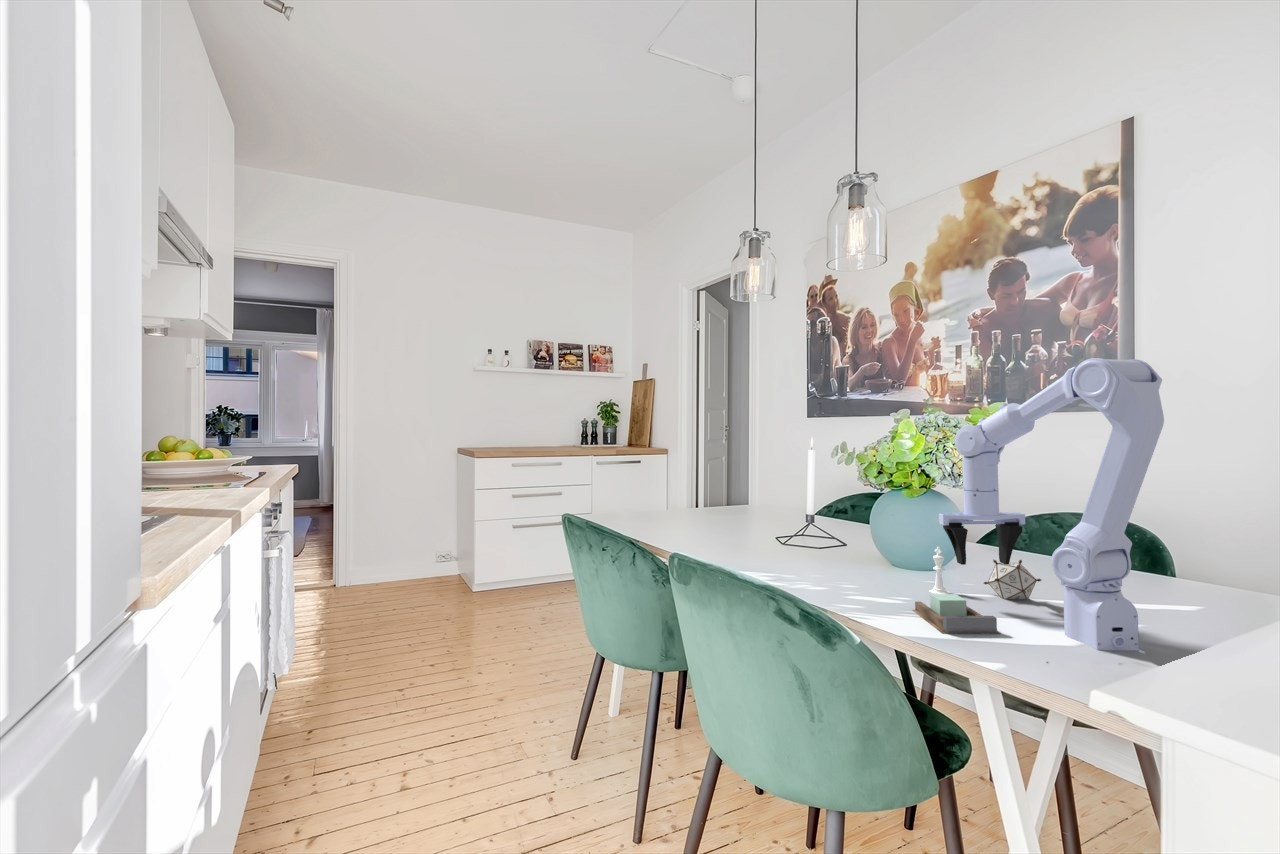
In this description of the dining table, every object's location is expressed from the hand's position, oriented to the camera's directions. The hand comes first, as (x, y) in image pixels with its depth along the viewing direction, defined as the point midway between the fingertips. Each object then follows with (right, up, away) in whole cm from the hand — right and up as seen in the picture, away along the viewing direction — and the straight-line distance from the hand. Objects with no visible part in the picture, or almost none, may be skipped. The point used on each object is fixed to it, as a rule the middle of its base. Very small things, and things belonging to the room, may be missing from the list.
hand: (982, 563), depth 112 cm
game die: (+8, -9, +5) cm, 13 cm away
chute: (-10, -9, -9) cm, 16 cm away
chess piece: (-3, -9, +10) cm, 14 cm away
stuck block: (-10, -8, -7) cm, 14 cm away
